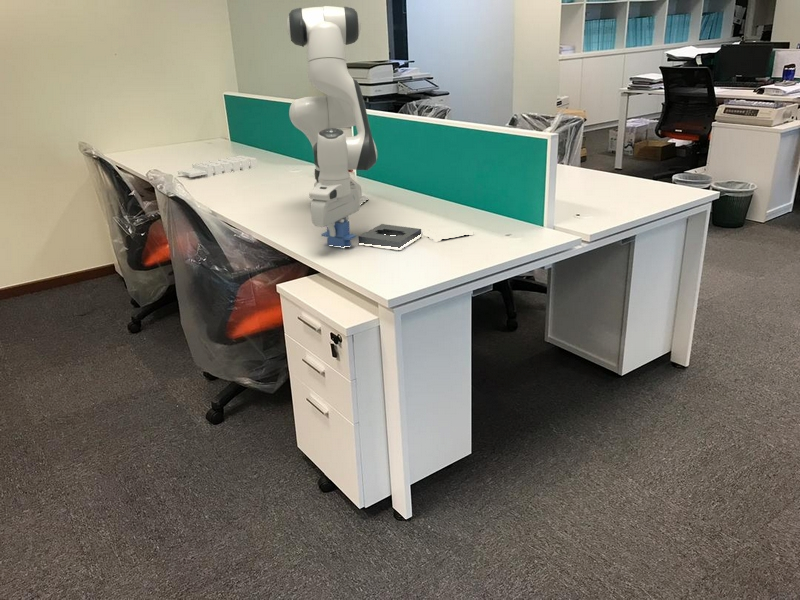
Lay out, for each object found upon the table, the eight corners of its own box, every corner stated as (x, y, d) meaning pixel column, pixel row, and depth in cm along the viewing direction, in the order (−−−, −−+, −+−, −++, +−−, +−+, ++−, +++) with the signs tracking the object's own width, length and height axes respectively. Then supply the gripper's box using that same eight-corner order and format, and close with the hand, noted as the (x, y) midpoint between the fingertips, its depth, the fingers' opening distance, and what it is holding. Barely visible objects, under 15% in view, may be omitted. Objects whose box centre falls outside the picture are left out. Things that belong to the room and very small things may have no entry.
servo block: (328, 242, 191) (326, 215, 188) (356, 246, 187) (355, 219, 183) (322, 245, 188) (320, 218, 185) (350, 249, 184) (348, 222, 180)
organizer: (256, 158, 300) (190, 170, 277) (257, 168, 302) (191, 181, 279) (241, 155, 309) (175, 167, 286) (242, 165, 310) (177, 177, 288)
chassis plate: (382, 232, 199) (381, 223, 198) (421, 237, 192) (421, 228, 191) (358, 245, 187) (358, 236, 186) (399, 251, 181) (399, 242, 180)
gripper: (345, 179, 190) (348, 223, 196) (305, 194, 174) (309, 241, 179) (363, 180, 187) (365, 225, 193) (324, 196, 171) (327, 244, 176)
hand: (338, 233), depth 186 cm, fingers closed on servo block, 4 cm apart
